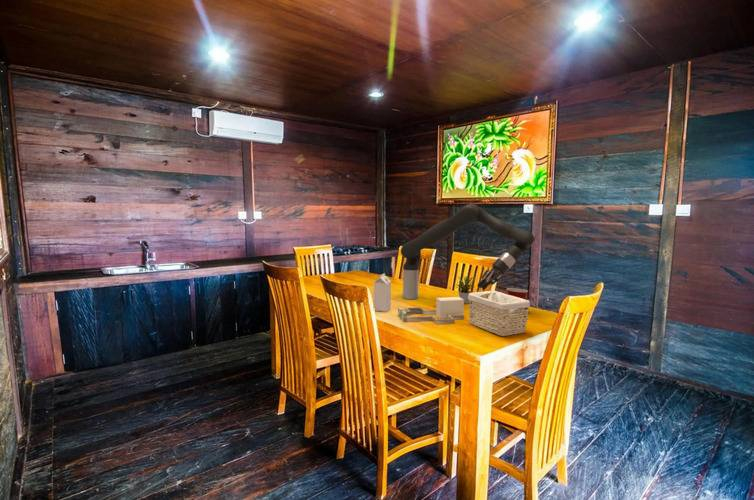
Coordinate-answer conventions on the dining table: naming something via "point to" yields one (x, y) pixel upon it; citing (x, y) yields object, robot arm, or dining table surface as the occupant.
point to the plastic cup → (517, 292)
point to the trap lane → (420, 310)
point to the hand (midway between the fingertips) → (480, 287)
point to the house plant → (465, 289)
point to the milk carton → (382, 294)
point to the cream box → (449, 306)
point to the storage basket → (498, 312)
